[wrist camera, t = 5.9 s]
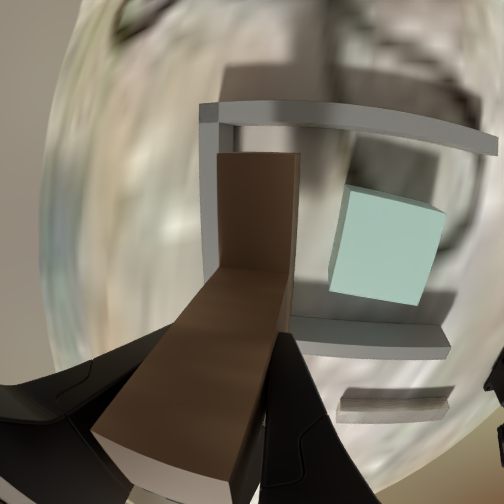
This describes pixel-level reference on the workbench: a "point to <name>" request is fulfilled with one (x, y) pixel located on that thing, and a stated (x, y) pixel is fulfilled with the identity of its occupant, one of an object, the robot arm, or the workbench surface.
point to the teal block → (384, 245)
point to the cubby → (335, 117)
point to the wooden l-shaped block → (215, 347)
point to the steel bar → (390, 410)
